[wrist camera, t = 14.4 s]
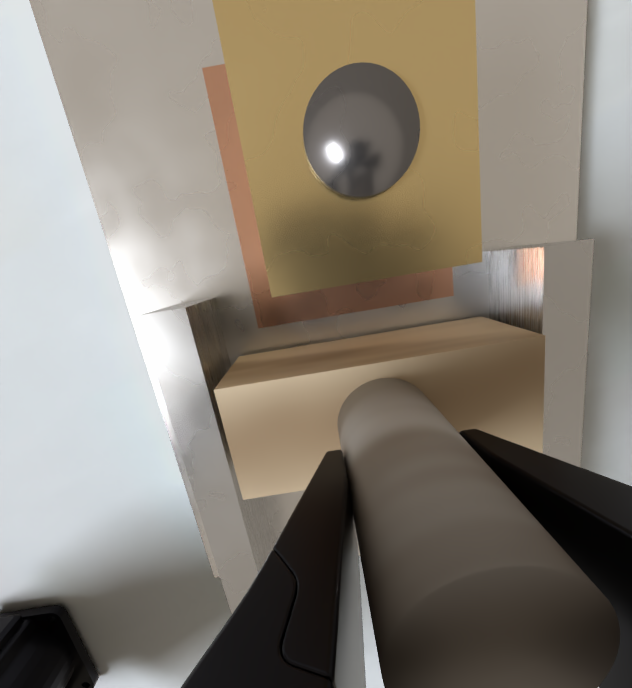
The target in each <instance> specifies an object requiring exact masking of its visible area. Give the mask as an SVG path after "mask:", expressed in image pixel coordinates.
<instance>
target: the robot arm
mask: <svg viewBox="0 0 632 688" xmlns="http://www.w3.org/2000/svg"><path fill="white" fill-rule="evenodd" d="M459 434H460V435H461V436H462V437H463V438H464V439H465V440H466V441H467V443H468V444H469V445H470V446H471V447H472V448H473V449H474V450H475V451H476V453H477V454H478V455H479V456H480V457H481V458H482V459H483V460H484V461H485V463H486V464H487V465H488V466H489V467H490V468H491V469H492V470H493V472H494V473H495V474H496V475H497V476H498V477H499V478H500V479H501V480H502V482H503V483H504V484H505V485H506V486H507V487H508V488H509V489H510V491H511V492H512V493H513V494H514V495H515V496H516V497H517V498H518V499H519V501H520V502H521V503H522V504H523V505H524V506H525V507H526V508H527V510H528V511H529V512H530V513H531V514H532V515H533V516H534V517H535V518H536V520H537V521H538V522H539V523H540V524H541V525H542V526H543V527H544V528H545V530H546V531H547V532H548V533H549V534H550V535H551V536H552V537H553V539H554V540H555V541H556V542H557V543H558V544H559V545H560V546H561V547H562V549H563V550H564V551H565V552H566V553H567V554H568V555H569V556H570V558H571V559H572V560H573V561H574V562H575V563H576V564H577V565H578V566H579V568H580V569H581V570H582V571H583V572H584V573H585V574H586V575H587V577H588V578H589V579H590V580H591V581H592V582H593V583H594V584H595V585H596V587H597V588H598V589H599V590H600V591H601V592H602V593H603V594H604V596H605V597H606V598H607V599H608V600H609V602H610V603H611V605H612V607H613V608H614V610H615V613H616V615H617V618H618V621H619V627H620V644H619V649H618V653H617V656H616V659H615V661H614V664H613V666H612V668H611V669H610V671H609V673H608V675H607V676H606V677H605V679H604V680H603V681H602V683H601V684H600V685H599V688H632V486H629V485H626V484H624V483H621V482H618V481H616V480H613V479H610V478H608V477H605V476H602V475H599V474H597V473H594V472H591V471H589V470H586V469H583V468H580V467H578V466H575V465H572V464H570V463H567V462H564V461H562V460H559V459H556V458H553V457H551V456H548V455H545V454H543V453H540V452H537V451H535V450H532V449H529V448H526V447H524V446H521V445H518V444H516V443H513V442H510V441H508V440H505V439H502V438H499V437H497V436H494V435H491V434H489V433H486V432H483V431H481V430H478V429H468V430H462V431H460V432H459ZM98 678H99V677H98V674H97V672H96V670H95V668H94V666H93V664H92V662H91V660H90V658H89V656H88V654H87V652H86V650H85V648H84V646H83V644H82V642H81V640H80V638H79V636H78V634H77V632H76V630H75V628H74V626H73V624H72V622H71V620H70V618H69V616H68V614H67V611H66V610H65V609H64V608H63V607H61V606H58V605H54V606H48V607H41V608H35V609H28V610H22V611H15V612H9V613H2V614H0V688H94V686H95V684H96V682H97V680H98ZM181 688H366V679H365V661H364V643H363V625H362V607H361V589H360V572H359V554H358V543H357V536H356V529H355V523H354V517H353V512H352V504H351V497H350V490H349V484H348V478H347V472H346V467H345V461H344V456H343V452H342V450H333V451H327V452H326V454H325V455H324V457H323V459H322V461H321V462H320V464H319V466H318V468H317V470H316V471H315V473H314V475H313V477H312V479H311V480H310V482H309V484H308V486H307V488H306V489H305V491H304V493H303V495H302V497H301V498H300V500H299V502H298V504H297V505H296V507H295V509H294V511H293V513H292V514H291V516H290V518H289V520H288V522H287V523H286V525H285V527H284V529H283V531H282V532H281V534H280V536H279V538H278V540H277V541H276V543H275V545H274V547H273V550H272V551H271V552H270V553H269V555H268V557H267V559H266V561H265V562H264V564H263V566H262V568H261V569H260V571H259V573H258V574H257V576H256V578H255V579H254V581H253V583H252V584H251V586H250V588H249V589H248V591H247V593H246V594H245V596H244V597H243V599H242V600H241V602H240V603H239V605H238V606H237V608H236V609H235V611H234V612H233V614H232V615H231V617H230V618H229V619H228V621H227V622H226V624H225V625H224V627H223V628H222V630H221V631H220V632H219V634H218V635H217V637H216V638H215V639H214V641H213V642H212V644H211V645H210V647H209V648H208V649H207V651H206V652H205V654H204V655H203V657H202V658H201V659H200V661H199V662H198V664H197V665H196V667H195V668H194V669H193V671H192V672H191V674H190V675H189V677H188V678H187V679H186V681H185V682H184V684H183V685H182V687H181Z"/></svg>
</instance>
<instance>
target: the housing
mask: <svg viewBox="0 0 632 688" xmlns="http://www.w3.org/2000/svg"><path fill="white" fill-rule="evenodd" d="M212 2H213V7H214V12H215V17H216V22H217V27H218V32H219V37H220V42H221V47H222V52H223V57H224V62H225V67H226V72H227V77H228V82H229V87H230V92H231V97H232V102H233V107H234V112H235V117H236V122H237V127H238V132H239V137H240V142H241V147H242V151H243V156H244V161H245V166H246V171H247V176H248V181H249V186H250V191H251V196H252V201H253V206H254V211H255V216H256V221H257V226H258V231H259V236H260V241H261V246H262V251H263V256H264V261H265V266H266V271H267V276H268V281H269V286H270V291H271V296H272V297H278V296H284V295H290V294H295V293H301V292H307V291H313V290H319V289H325V288H331V287H337V286H343V285H349V284H355V283H360V282H366V281H372V280H378V279H384V278H390V277H396V276H402V275H408V274H414V273H419V272H425V271H431V270H437V269H443V268H449V267H455V266H461V265H467V264H473V263H479V262H482V230H481V194H480V158H479V122H478V85H477V49H476V13H475V0H212Z"/></svg>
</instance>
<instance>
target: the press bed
mask: <svg viewBox="0 0 632 688" xmlns="http://www.w3.org/2000/svg"><path fill="white" fill-rule="evenodd" d="M29 1H30V4H31V7H32V10H33V13H34V17H35V20H36V23H37V26H38V29H39V32H40V35H41V38H42V42H43V45H44V48H45V51H46V54H47V57H48V60H49V63H50V66H51V70H52V73H53V76H54V79H55V82H56V85H57V88H58V91H59V95H60V98H61V101H62V104H63V107H64V110H65V113H66V116H67V120H68V123H69V126H70V129H71V132H72V135H73V138H74V141H75V144H76V148H77V151H78V154H79V157H80V160H81V163H82V166H83V169H84V173H85V176H86V179H87V182H88V185H89V188H90V191H91V194H92V198H93V201H94V204H95V207H96V210H97V213H98V216H99V219H100V222H101V226H102V229H103V232H104V235H105V238H106V241H107V244H108V247H109V251H110V254H111V257H112V260H113V263H114V266H115V269H116V272H117V276H118V279H119V282H120V285H121V288H122V291H123V294H124V297H125V300H126V304H127V307H128V310H129V313H130V316H131V319H132V322H133V325H134V329H135V332H136V335H137V338H138V341H139V344H140V347H141V350H142V354H143V357H144V360H145V363H146V366H147V369H148V372H149V375H150V378H151V382H152V385H153V388H154V391H155V394H156V397H157V400H158V403H159V407H160V410H161V413H162V416H163V419H164V422H165V425H166V428H167V432H168V435H169V438H170V441H171V444H172V447H173V450H174V453H175V456H176V460H177V463H178V466H179V469H180V472H181V475H182V478H183V481H184V485H185V488H186V491H187V494H188V497H189V500H190V503H191V506H192V510H193V513H194V516H195V519H196V522H197V525H198V528H199V531H200V534H201V538H202V541H203V544H204V547H205V550H206V553H207V556H208V559H209V563H210V566H211V569H212V572H213V575H214V578H217V577H220V579H221V582H222V586H223V589H224V592H225V595H226V598H227V601H228V605H229V608H230V611H231V614H233V612H234V611H235V609H236V608H237V606H238V605H239V603H240V602H241V600H242V599H243V597H244V596H245V594H246V593H247V591H248V589H249V588H250V586H251V584H252V583H253V581H254V579H255V578H256V576H257V574H258V573H259V571H260V569H261V568H262V566H263V564H264V562H265V561H266V559H267V557H268V555H269V553H270V552H271V551H272V550H273V547H274V545H275V543H276V541H277V540H278V538H279V536H280V534H281V532H282V531H283V529H284V527H285V525H286V523H287V522H288V520H289V518H290V516H291V514H292V513H293V511H294V509H295V507H296V505H297V504H298V502H299V500H300V498H301V497H302V495H303V493H304V491H305V490H303V491H296V492H290V493H284V494H277V495H271V496H264V497H258V498H252V499H245V500H243V498H242V494H241V490H240V487H239V483H238V479H237V475H236V472H235V468H234V464H233V460H232V457H231V453H230V449H229V446H228V442H227V438H226V434H225V431H224V427H223V423H222V419H221V416H220V412H219V408H218V404H217V401H216V397H215V393H214V389H215V387H216V386H217V385H218V383H219V382H220V381H221V379H222V378H223V377H224V376H225V374H226V373H227V372H228V370H229V369H230V368H231V366H232V365H233V364H234V362H235V361H236V360H237V358H238V357H239V356H245V355H251V354H257V353H263V352H269V351H275V350H281V349H287V348H293V347H299V346H305V345H311V344H317V343H323V342H329V341H335V340H341V339H347V338H353V337H359V336H365V335H371V334H377V333H383V332H389V331H395V330H401V329H407V328H413V327H419V326H425V325H432V324H438V323H444V322H450V321H456V320H462V319H468V318H474V317H480V316H482V317H485V318H489V319H492V320H495V321H499V322H502V323H505V324H509V325H512V326H515V327H519V328H522V329H525V330H529V331H532V332H536V333H539V334H542V335H545V374H544V416H543V454H545V455H548V456H551V457H553V458H556V459H559V460H562V461H564V462H567V463H570V464H572V465H575V466H578V467H580V466H581V449H582V433H583V416H584V400H585V383H586V367H587V350H588V334H589V317H590V300H591V284H592V267H593V251H594V239H583V240H576V238H577V217H578V195H579V174H580V152H581V131H582V109H583V88H584V66H585V45H586V23H587V2H588V0H475V13H476V49H477V85H478V122H479V158H480V194H481V230H482V262H479V263H473V264H467V265H461V266H455V267H449V268H443V269H437V270H431V271H425V272H419V273H414V274H408V275H402V276H396V277H390V278H384V279H378V280H372V281H366V282H360V283H355V284H349V285H343V286H337V287H331V288H325V289H319V290H313V291H307V292H301V293H295V294H290V295H284V296H278V297H272V296H271V291H270V286H269V281H268V276H267V271H266V266H265V261H264V256H263V251H262V246H261V241H260V236H259V231H258V226H257V221H256V216H255V211H254V206H253V201H252V196H251V191H250V186H249V181H248V176H247V171H246V166H245V161H244V156H243V151H242V147H241V142H240V137H239V132H238V127H237V122H236V117H235V112H234V107H233V102H232V97H231V92H230V87H229V82H228V77H227V72H226V67H225V62H224V57H223V52H222V47H221V42H220V37H219V32H218V27H217V22H216V17H215V12H214V7H213V2H212V0H29ZM355 529H356V528H355ZM356 536H357V534H356ZM357 543H358V540H357ZM358 554H359V556H360V551H359V545H358Z"/></svg>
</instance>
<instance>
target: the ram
mask: <svg viewBox="0 0 632 688" xmlns="http://www.w3.org/2000/svg"><path fill="white" fill-rule="evenodd" d="M544 374H545V335H542V334H539V333H536V332H532V331H529V330H525V329H522V328H519V327H515V326H512V325H509V324H505V323H502V322H499V321H495V320H492V319H489V318H485V317H482V316H480V317H474V318H468V319H462V320H456V321H450V322H444V323H438V324H432V325H425V326H419V327H413V328H407V329H401V330H395V331H389V332H383V333H377V334H371V335H365V336H359V337H353V338H347V339H341V340H335V341H329V342H323V343H317V344H311V345H305V346H299V347H293V348H287V349H281V350H275V351H269V352H263V353H257V354H251V355H245V356H239V357H238V358H237V360H236V361H235V362H234V364H233V365H232V366H231V368H230V369H229V370H228V372H227V373H226V374H225V376H224V377H223V378H222V379H221V381H220V382H219V383H218V385H217V386H216V387H215V389H214V393H215V397H216V401H217V404H218V408H219V412H220V416H221V419H222V423H223V427H224V431H225V434H226V438H227V442H228V446H229V449H230V453H231V457H232V460H233V464H234V468H235V472H236V475H237V479H238V483H239V487H240V490H241V494H242V498H243V500H245V499H252V498H258V497H264V496H271V495H277V494H284V493H290V492H296V491H303V490H305V489H306V488H307V486H308V484H309V482H310V480H311V479H312V477H313V475H314V473H315V471H316V470H317V468H318V466H319V464H320V462H321V461H322V459H323V457H324V455H325V454H326V452H327V451H333V450H342V452H343V456H344V461H345V467H346V472H347V478H348V484H349V490H350V497H351V504H352V512H353V517H354V523H355V528H356V534H357V540H358V545H359V551H360V556H361V562H362V568H363V573H364V579H365V584H366V590H367V596H368V601H369V607H370V612H371V618H372V624H373V629H374V635H375V640H376V646H377V652H378V657H379V663H380V668H381V674H382V679H383V683H384V686H385V688H597V687H598V686H599V685H600V684H601V683H602V681H603V680H604V679H605V677H606V676H607V675H608V673H609V671H610V669H611V668H612V666H613V664H614V661H615V659H616V656H617V653H618V649H619V644H620V627H619V621H618V618H617V615H616V613H615V610H614V608H613V607H612V605H611V603H610V602H609V600H608V599H607V598H606V597H605V596H604V594H603V593H602V592H601V591H600V590H599V589H598V588H597V587H596V585H595V584H594V583H593V582H592V581H591V580H590V579H589V578H588V577H587V575H586V574H585V573H584V572H583V571H582V570H581V569H580V568H579V566H578V565H577V564H576V563H575V562H574V561H573V560H572V559H571V558H570V556H569V555H568V554H567V553H566V552H565V551H564V550H563V549H562V547H561V546H560V545H559V544H558V543H557V542H556V541H555V540H554V539H553V537H552V536H551V535H550V534H549V533H548V532H547V531H546V530H545V528H544V527H543V526H542V525H541V524H540V523H539V522H538V521H537V520H536V518H535V517H534V516H533V515H532V514H531V513H530V512H529V511H528V510H527V508H526V507H525V506H524V505H523V504H522V503H521V502H520V501H519V499H518V498H517V497H516V496H515V495H514V494H513V493H512V492H511V491H510V489H509V488H508V487H507V486H506V485H505V484H504V483H503V482H502V480H501V479H500V478H499V477H498V476H497V475H496V474H495V473H494V472H493V470H492V469H491V468H490V467H489V466H488V465H487V464H486V463H485V461H484V460H483V459H482V458H481V457H480V456H479V455H478V454H477V453H476V451H475V450H474V449H473V448H472V447H471V446H470V445H469V444H468V443H467V441H466V440H465V439H464V438H463V437H462V436H461V435H460V434H459V432H460V431H462V430H468V429H478V430H481V431H483V432H486V433H489V434H491V435H494V436H497V437H499V438H502V439H505V440H508V441H510V442H513V443H516V444H518V445H521V446H524V447H526V448H529V449H532V450H535V451H537V452H540V453H543V416H544Z"/></svg>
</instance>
